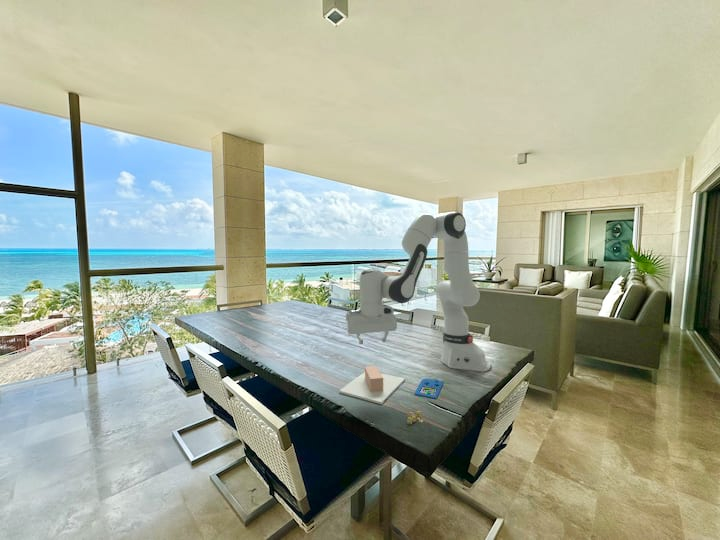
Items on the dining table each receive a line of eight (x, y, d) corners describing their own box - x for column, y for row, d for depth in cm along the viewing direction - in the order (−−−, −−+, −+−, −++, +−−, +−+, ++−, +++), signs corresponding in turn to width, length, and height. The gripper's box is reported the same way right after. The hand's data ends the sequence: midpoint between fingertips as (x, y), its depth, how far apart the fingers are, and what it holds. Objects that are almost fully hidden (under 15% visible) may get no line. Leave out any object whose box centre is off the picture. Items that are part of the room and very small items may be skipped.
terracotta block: (376, 365, 123) (383, 377, 111) (376, 377, 123) (383, 390, 112) (364, 366, 122) (370, 378, 111) (364, 378, 123) (370, 391, 111)
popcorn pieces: (407, 426, 91) (407, 420, 91) (405, 416, 96) (405, 411, 96) (424, 426, 91) (424, 420, 91) (421, 416, 96) (420, 411, 96)
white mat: (404, 380, 122) (404, 378, 122) (381, 404, 103) (381, 402, 103) (366, 371, 131) (366, 370, 131) (339, 392, 112) (339, 390, 112)
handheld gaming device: (443, 380, 120) (436, 397, 106) (443, 383, 120) (436, 400, 106) (423, 377, 123) (413, 392, 110) (423, 379, 124) (413, 395, 110)
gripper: (346, 312, 113) (347, 347, 114) (397, 309, 117) (398, 343, 118) (344, 309, 120) (346, 342, 121) (393, 306, 123) (394, 338, 124)
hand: (372, 342), depth 119 cm, fingers open, 8 cm apart
